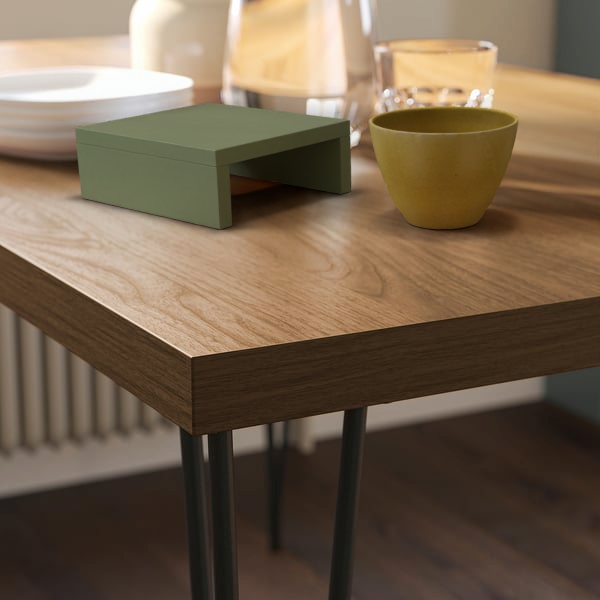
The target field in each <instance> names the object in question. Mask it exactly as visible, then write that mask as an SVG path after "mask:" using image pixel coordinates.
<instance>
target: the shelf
mask: <svg viewBox="0 0 600 600" xmlns="http://www.w3.org/2000/svg"><path fill="white" fill-rule="evenodd" d="M74 131H75V141H76V143H75V144H76V153H77V154H76V155H77V164H78V165H77V166H78V174H79V185H80V195H81V199H84V200H85V199H86V200H88V201H93V202H97V203H102V204H106V205H111V206H115V207H120V208H124V209H128V210H132V211H137V212H141V213H146V214H151V215H155V216H158V217H164V218H167V219H172V220H177V221H180V222H185V223H189V224H195V225H199V226H203V227H207V228H212V229H216V230H223V229H227V228H229V227H230V228H231V227H232V226H233V216H232V215H233V214H232V197H231V195H232V194H231V179H230V178H231V177H230V175H233V176H238V177H245V178H250V179H256V180H261V181H266V182H272V183H277V184H284V185H288V186H294V187H300V188H306V189H311V190H317V191H322V192H327V193H331V194H332V193H333V194H338V195H343V194H347V193H351V192H352V191H353V190H352V148H351V147H352V146H351V145H352V143H351V141H352V139H351V120H350V119H346V118H338V117H329V116H322V115H314V114H305V113H297V112H291V111H290V112H289V111H281V110H274V109H266V108H265V109H264V108H257V107H249V106H241V105H235V104H226V103H217V102H210V101H209V102H204V103H198V104H197V103H196V104H191V105H186V106H181V107H176V108H172V109H171V108H170V109H166V110H160V111H155V112H150V113H144V114H139V115H134V116H128V117H122V118H118V119H117V118H116V119H113V120H107V121H101V122H96V123H90V124H86V125H81V126H75V128H74Z"/></svg>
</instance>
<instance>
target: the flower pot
mask: <svg viewBox="0 0 600 600" xmlns="http://www.w3.org/2000/svg"><path fill="white" fill-rule="evenodd" d="M368 126H369V132H370V133H369V134H370V139H371V144H372V148H373V152H374V156H375V159H376V162H377V165H378V168H379V171H380V173H381V174H380V175H381V176H382V179H383V182H384V183H385V186H386V188H387V190H388V193H389V194H390V197H391V198H392V200H393V202H394V203H395V205H396V207H397V209H398V210H399V212H400V214H401V216H402V217H403V218H404V220H405V221H406V222H407V223H409V224H410V225H412V226H414V227H418V228H423V229H430V230H457V229H463V228H468V227H471V226H473V225H475V224H477V223H479V221H480V220H481V219H482V217H483V216H484V215H485V214H486V211H487V210H488V208H489V207H490V205H491V203H492V201H493V200H494V198H495V196H496V194H497V192H498V190H499V188H500V186H501V184H502V181H503V179H504V177H505V174H506V172H507V170H508V166H509V164H510V160H511V158H512V155H513V150H514V147H515V143H516V138H517V133H518V127H519V117H518V116H517V115H516V114H515V113H512V112H509V111H505V110H501V109H496V108H489V107H477V106H476V107H474V106H457V105H454V106H453V105H452V106H451V105H450V106H446V105H445V106H444V105H443V106H423V107H422V106H421V107H410V108H403V109H402V108H401V109H394V110H389V111H385V112H381V113H378V114H376V115H373V116H372V117H370V118H369V120H368Z"/></svg>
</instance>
